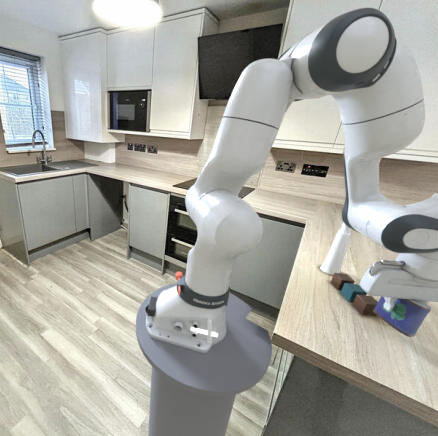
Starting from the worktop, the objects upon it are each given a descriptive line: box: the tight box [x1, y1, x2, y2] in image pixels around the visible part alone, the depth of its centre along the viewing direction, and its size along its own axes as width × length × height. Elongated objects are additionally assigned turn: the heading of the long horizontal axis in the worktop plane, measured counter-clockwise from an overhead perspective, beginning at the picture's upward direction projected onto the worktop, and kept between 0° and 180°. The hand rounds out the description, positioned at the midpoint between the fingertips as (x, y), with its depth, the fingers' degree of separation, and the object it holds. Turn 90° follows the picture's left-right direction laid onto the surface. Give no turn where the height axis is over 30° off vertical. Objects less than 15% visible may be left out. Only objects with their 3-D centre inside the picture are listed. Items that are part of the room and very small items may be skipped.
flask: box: [373, 297, 432, 338], centre depth 58 cm, size 9×3×11 cm, turn 3°
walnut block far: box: [330, 272, 356, 291], centre depth 78 cm, size 4×4×4 cm
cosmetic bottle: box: [320, 221, 353, 276], centre depth 83 cm, size 6×6×22 cm
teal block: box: [340, 283, 368, 303], centre depth 73 cm, size 4×4×4 cm
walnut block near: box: [352, 294, 379, 317], centre depth 68 cm, size 4×4×4 cm
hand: (398, 310), depth 59 cm, fingers closed on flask, 3 cm apart
